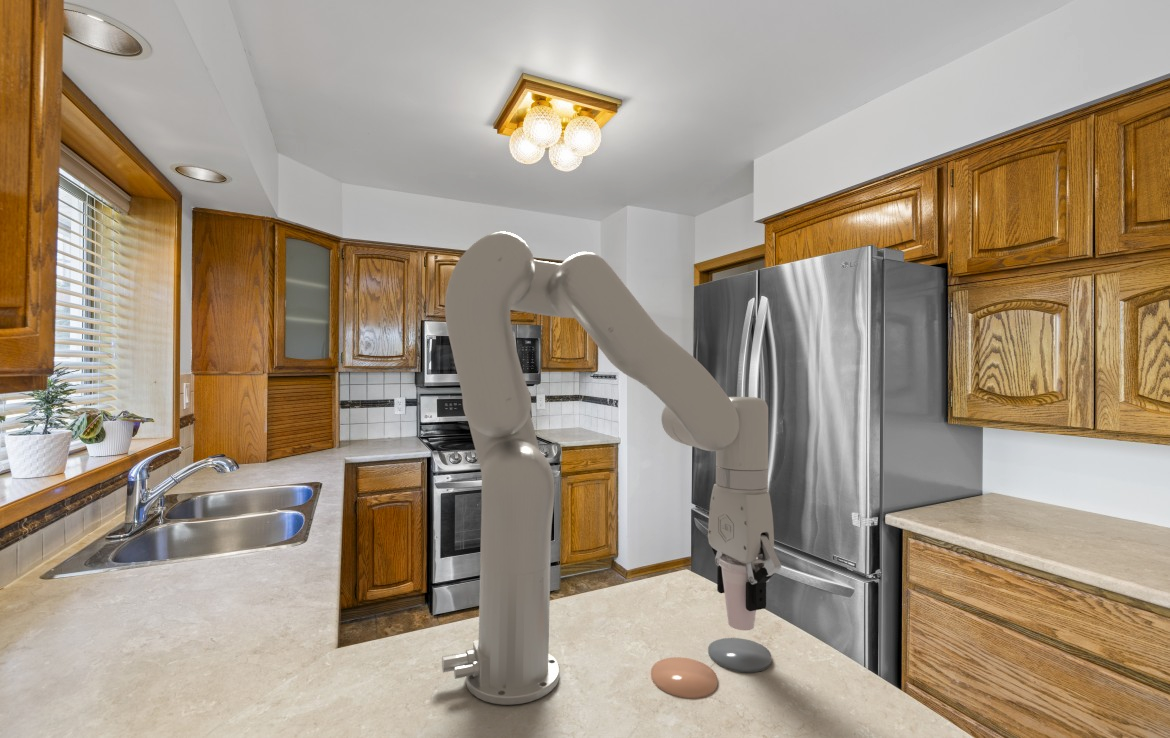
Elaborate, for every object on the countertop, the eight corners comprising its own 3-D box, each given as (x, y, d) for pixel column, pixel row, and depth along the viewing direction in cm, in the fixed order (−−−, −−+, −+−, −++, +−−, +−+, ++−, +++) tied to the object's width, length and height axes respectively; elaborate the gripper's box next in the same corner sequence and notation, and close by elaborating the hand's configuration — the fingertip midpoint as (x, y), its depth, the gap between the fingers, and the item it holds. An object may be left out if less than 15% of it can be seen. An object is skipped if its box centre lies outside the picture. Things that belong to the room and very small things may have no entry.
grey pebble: (777, 674, 73) (777, 668, 73) (711, 670, 74) (711, 664, 74) (764, 644, 82) (763, 639, 82) (705, 641, 83) (705, 636, 83)
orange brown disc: (672, 706, 66) (672, 700, 66) (639, 669, 74) (639, 663, 74) (731, 692, 69) (731, 686, 69) (693, 658, 78) (693, 652, 78)
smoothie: (766, 636, 74) (765, 537, 75) (720, 632, 75) (719, 534, 76) (760, 617, 80) (760, 525, 81) (717, 613, 82) (717, 523, 82)
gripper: (688, 470, 85) (687, 582, 85) (761, 492, 69) (760, 630, 69) (726, 468, 88) (725, 576, 87) (804, 488, 72) (804, 620, 71)
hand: (740, 598), depth 78 cm, fingers closed on smoothie, 5 cm apart
